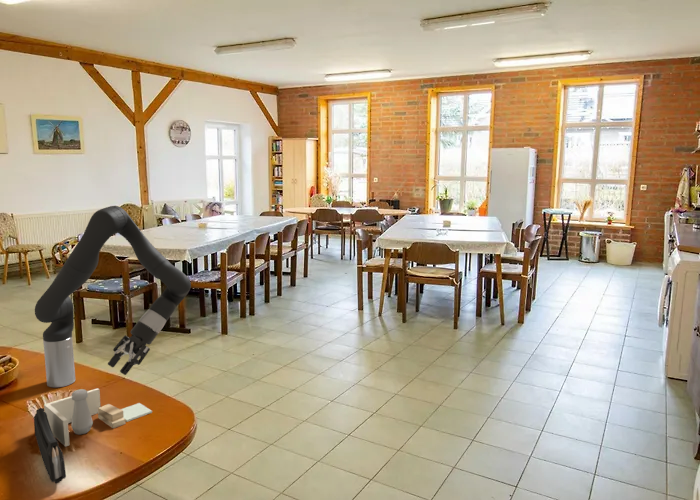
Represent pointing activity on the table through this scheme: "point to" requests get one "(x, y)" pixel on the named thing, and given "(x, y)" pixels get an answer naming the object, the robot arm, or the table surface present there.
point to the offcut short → (110, 412)
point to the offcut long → (112, 424)
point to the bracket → (68, 414)
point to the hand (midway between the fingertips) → (116, 369)
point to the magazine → (49, 447)
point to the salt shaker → (81, 413)
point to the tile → (135, 412)
